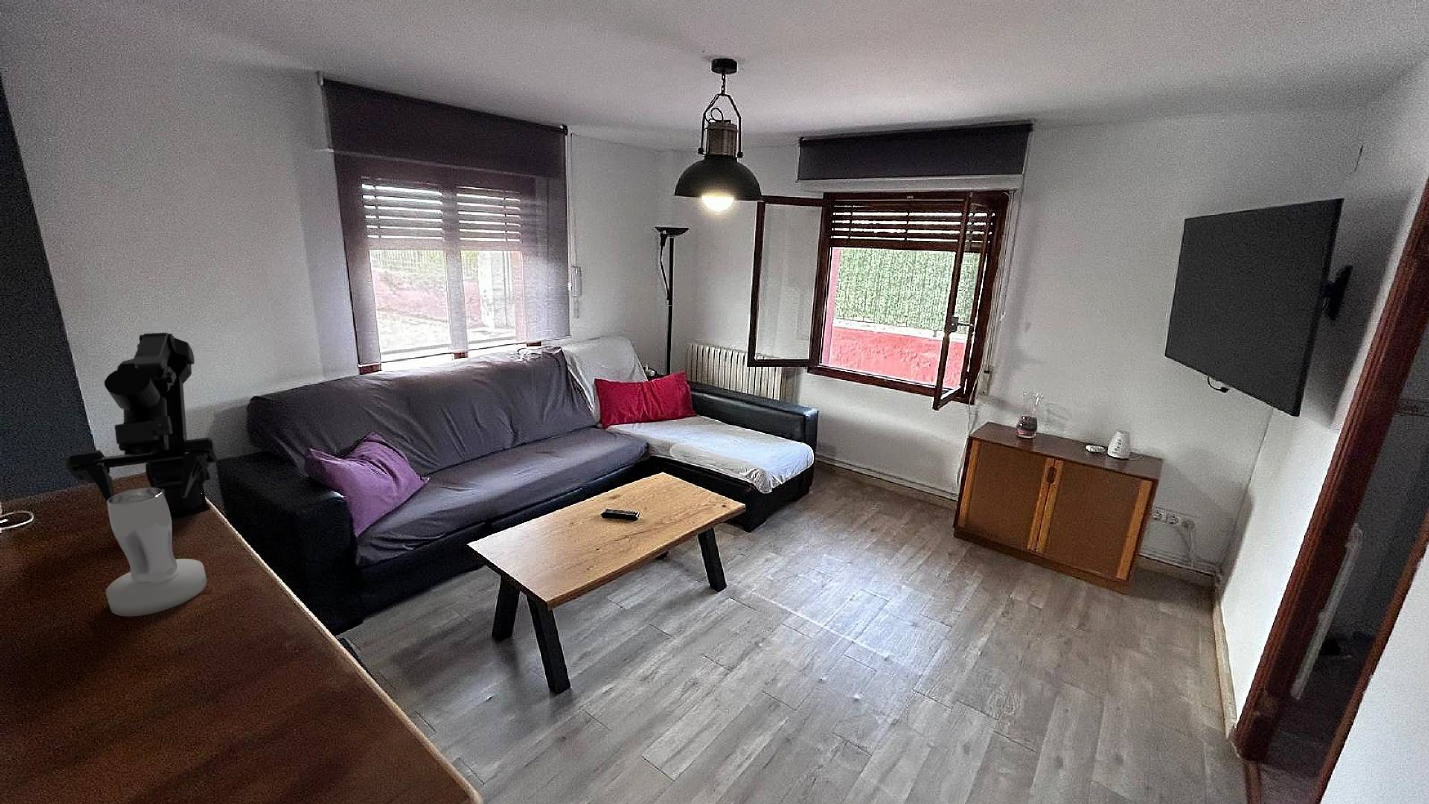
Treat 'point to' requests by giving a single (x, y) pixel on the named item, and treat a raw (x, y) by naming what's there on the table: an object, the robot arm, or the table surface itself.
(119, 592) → the cream stand
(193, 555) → the table surface
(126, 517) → the beer glass
